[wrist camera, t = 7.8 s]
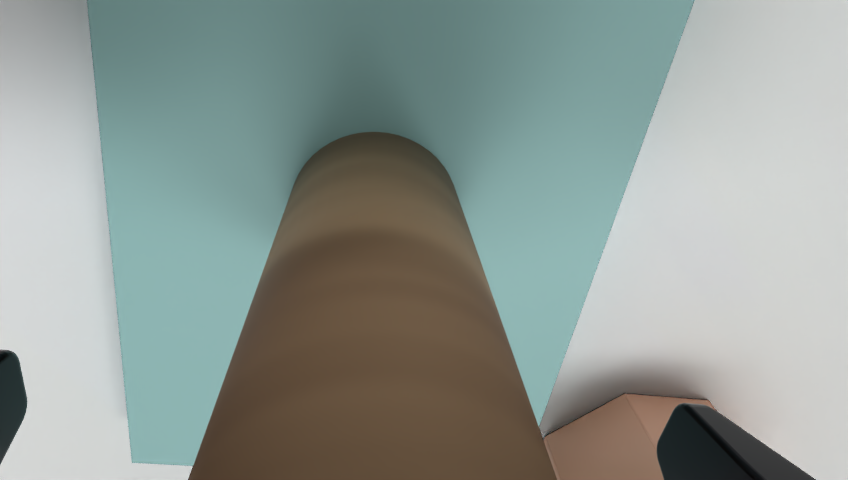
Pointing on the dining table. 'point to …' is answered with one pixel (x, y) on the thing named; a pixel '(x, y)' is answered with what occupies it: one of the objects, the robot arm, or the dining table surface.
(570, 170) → the board
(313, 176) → the dowel
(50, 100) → the dining table surface
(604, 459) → the pink octagonal bowl
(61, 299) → the dining table surface
